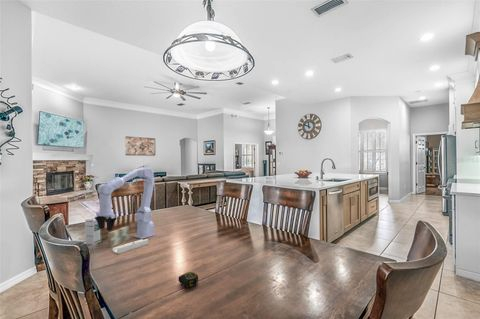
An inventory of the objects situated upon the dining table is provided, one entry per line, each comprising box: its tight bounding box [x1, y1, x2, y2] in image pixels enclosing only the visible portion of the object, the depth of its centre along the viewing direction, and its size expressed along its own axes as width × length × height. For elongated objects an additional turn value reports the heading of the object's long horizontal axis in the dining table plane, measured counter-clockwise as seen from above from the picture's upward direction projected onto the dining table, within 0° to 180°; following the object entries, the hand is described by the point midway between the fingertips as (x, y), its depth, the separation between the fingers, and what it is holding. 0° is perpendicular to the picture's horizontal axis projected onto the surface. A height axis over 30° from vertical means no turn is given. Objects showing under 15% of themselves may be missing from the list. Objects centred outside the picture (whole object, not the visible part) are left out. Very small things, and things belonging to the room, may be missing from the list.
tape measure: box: [178, 271, 199, 290], centre depth 93 cm, size 7×7×4 cm
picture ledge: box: [111, 238, 149, 255], centre depth 131 cm, size 17×7×4 cm, turn 143°
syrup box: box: [84, 216, 102, 246], centre depth 139 cm, size 6×6×14 cm
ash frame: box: [107, 225, 130, 248], centre depth 139 cm, size 14×3×8 cm, turn 163°
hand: (105, 229), depth 132 cm, fingers open, 7 cm apart
